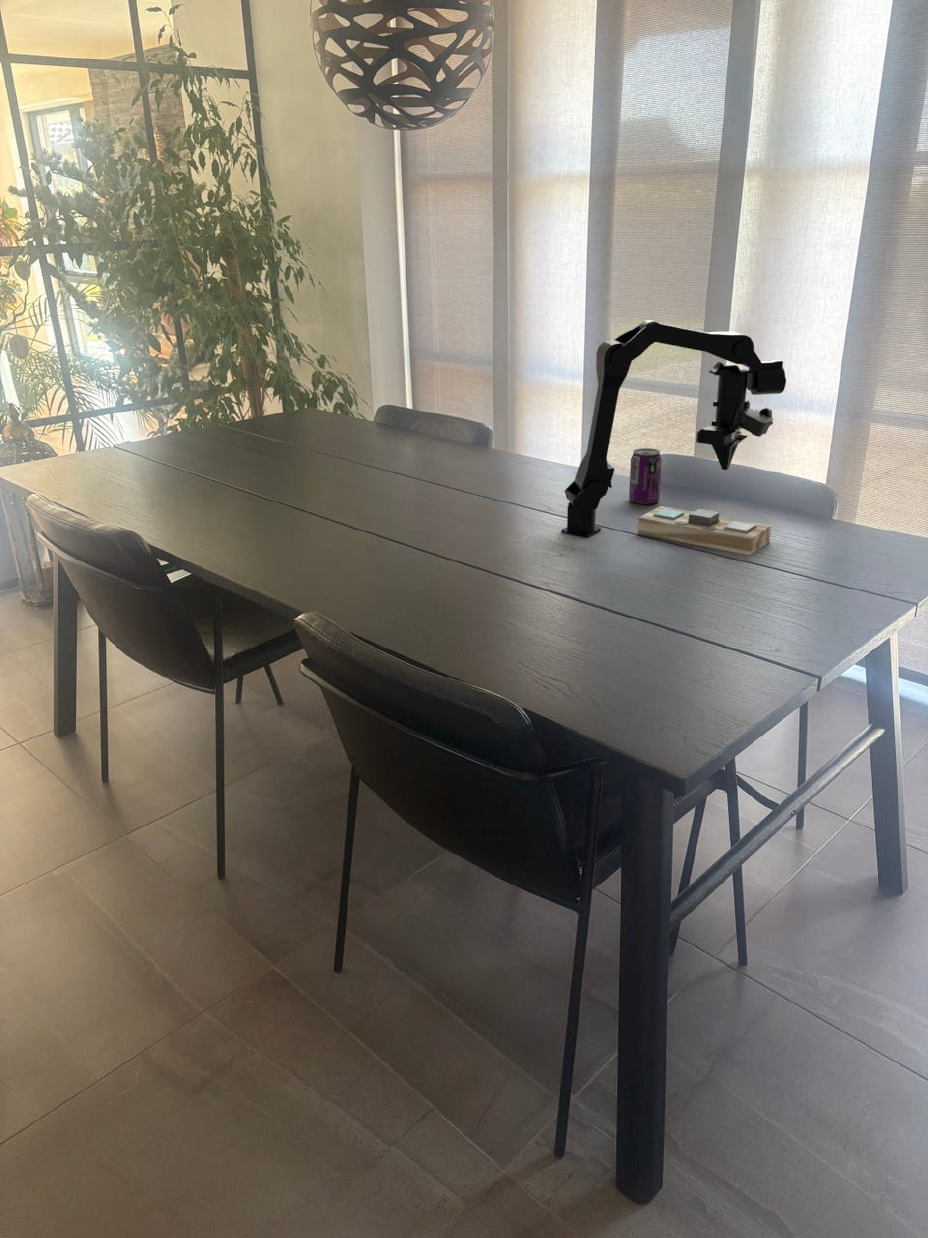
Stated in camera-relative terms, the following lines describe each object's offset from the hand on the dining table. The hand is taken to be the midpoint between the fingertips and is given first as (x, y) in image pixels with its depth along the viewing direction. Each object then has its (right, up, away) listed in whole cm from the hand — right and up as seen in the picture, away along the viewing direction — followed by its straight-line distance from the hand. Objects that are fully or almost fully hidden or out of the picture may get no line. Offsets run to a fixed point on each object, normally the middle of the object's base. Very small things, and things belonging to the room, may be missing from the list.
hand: (725, 469), depth 199 cm
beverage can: (-13, -4, +22) cm, 26 cm away
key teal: (-12, -12, +1) cm, 17 cm away
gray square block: (-6, -13, -5) cm, 15 cm away
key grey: (0, -16, -9) cm, 18 cm away
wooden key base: (-6, -15, -4) cm, 16 cm away
